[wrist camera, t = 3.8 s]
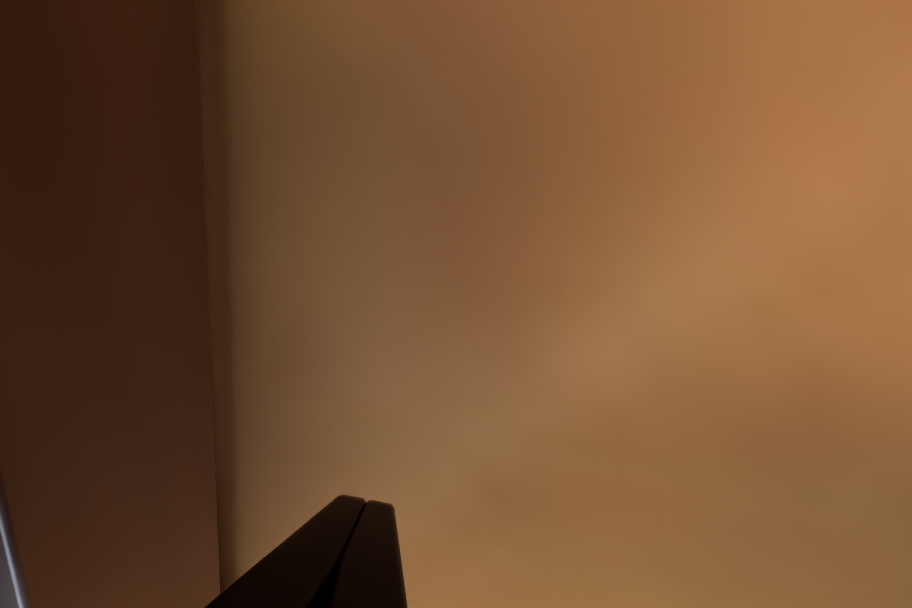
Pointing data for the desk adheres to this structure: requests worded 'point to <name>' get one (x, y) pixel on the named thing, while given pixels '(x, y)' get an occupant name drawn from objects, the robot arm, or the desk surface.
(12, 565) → the rack
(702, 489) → the desk surface
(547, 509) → the desk surface
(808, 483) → the desk surface
